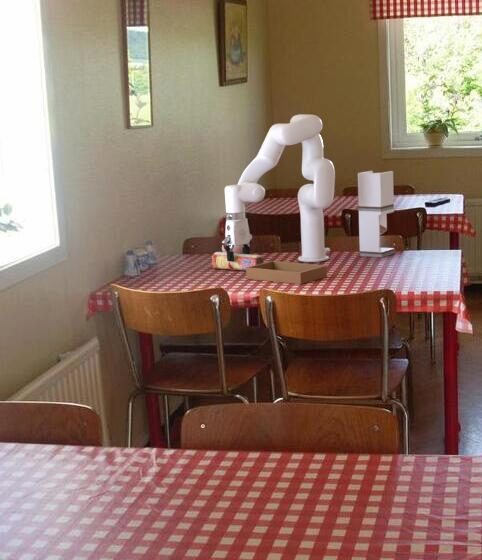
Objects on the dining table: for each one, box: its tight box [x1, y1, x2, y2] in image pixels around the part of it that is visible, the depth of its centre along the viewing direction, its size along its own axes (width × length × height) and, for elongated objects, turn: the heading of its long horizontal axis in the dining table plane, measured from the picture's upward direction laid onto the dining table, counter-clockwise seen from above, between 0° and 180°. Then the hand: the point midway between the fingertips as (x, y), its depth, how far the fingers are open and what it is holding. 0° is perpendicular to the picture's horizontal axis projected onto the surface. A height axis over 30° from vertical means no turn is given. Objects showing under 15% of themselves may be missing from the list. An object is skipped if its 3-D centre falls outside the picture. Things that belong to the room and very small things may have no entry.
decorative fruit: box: [221, 244, 244, 254], centre depth 418 cm, size 9×8×10 cm
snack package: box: [211, 251, 264, 272], centre depth 395 cm, size 21×7×7 cm, turn 63°
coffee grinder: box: [357, 170, 396, 258], centre depth 420 cm, size 11×11×35 cm
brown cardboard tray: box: [245, 260, 328, 285], centre depth 375 cm, size 17×26×4 cm, turn 56°
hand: (238, 259), depth 395 cm, fingers open, 9 cm apart
